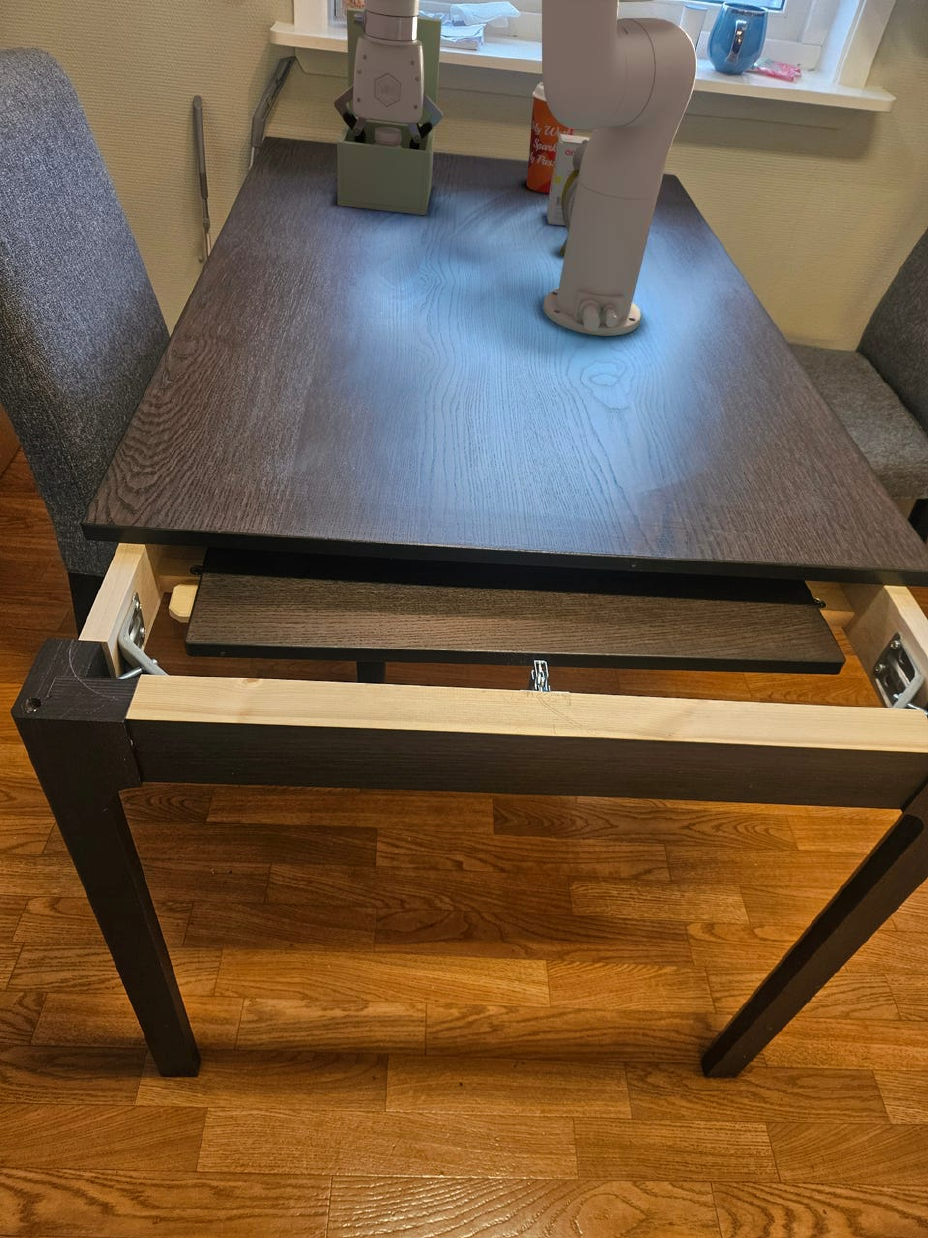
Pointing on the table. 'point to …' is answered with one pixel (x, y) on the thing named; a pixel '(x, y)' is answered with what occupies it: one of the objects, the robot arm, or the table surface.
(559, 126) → the coffee cup
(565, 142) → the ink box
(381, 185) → the bin
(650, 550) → the table surface
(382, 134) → the pill bottle
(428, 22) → the bin lid
